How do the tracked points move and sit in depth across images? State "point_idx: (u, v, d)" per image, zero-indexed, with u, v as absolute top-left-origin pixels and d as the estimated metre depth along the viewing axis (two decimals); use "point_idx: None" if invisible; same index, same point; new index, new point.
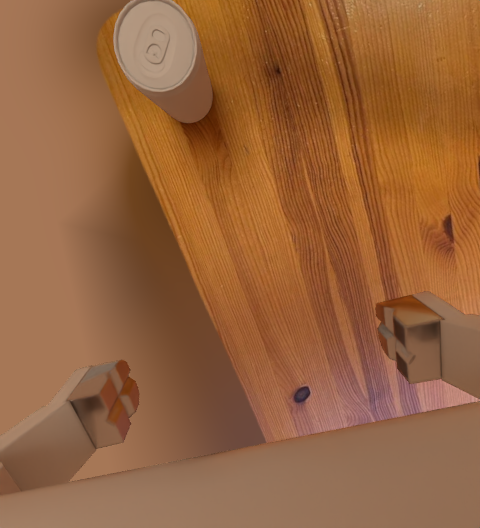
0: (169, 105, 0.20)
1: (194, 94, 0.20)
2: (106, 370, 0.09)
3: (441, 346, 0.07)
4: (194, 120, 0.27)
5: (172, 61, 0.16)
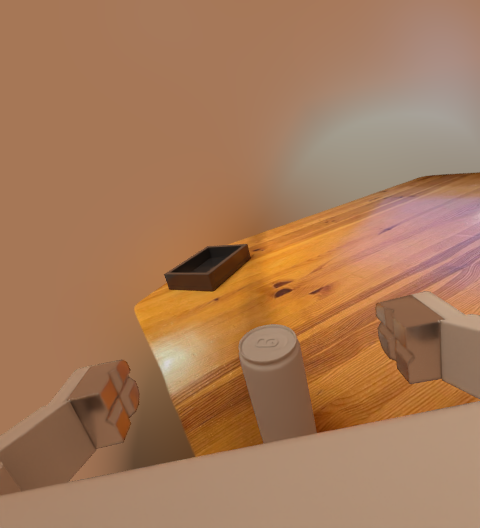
0: None
1: None
2: (106, 370, 0.09)
3: (441, 346, 0.07)
4: None
5: (273, 333, 0.24)
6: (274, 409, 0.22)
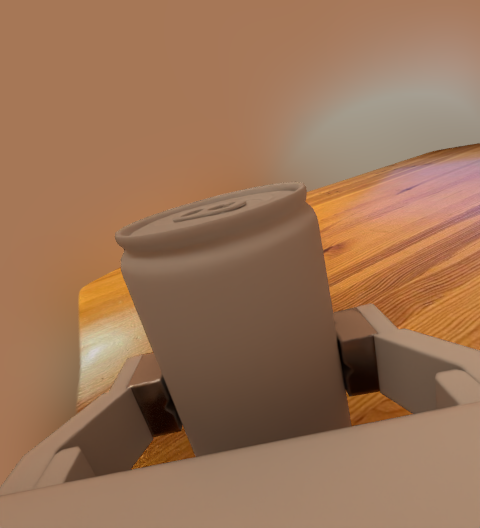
0: None
1: None
2: None
3: (376, 360, 0.07)
4: None
5: (236, 198, 0.08)
6: (234, 427, 0.06)
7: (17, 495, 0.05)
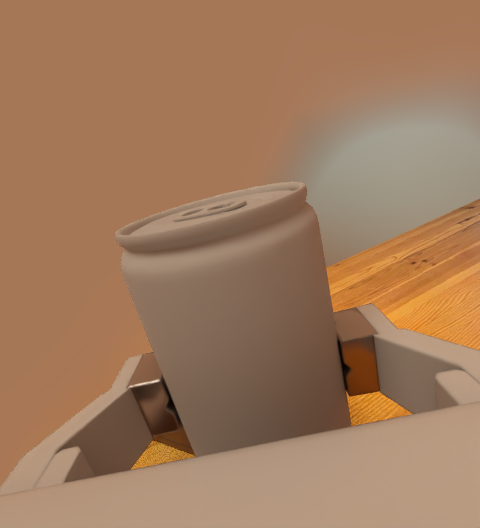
0: None
1: None
2: None
3: (376, 360, 0.07)
4: None
5: (236, 198, 0.08)
6: (234, 427, 0.06)
7: (17, 495, 0.05)
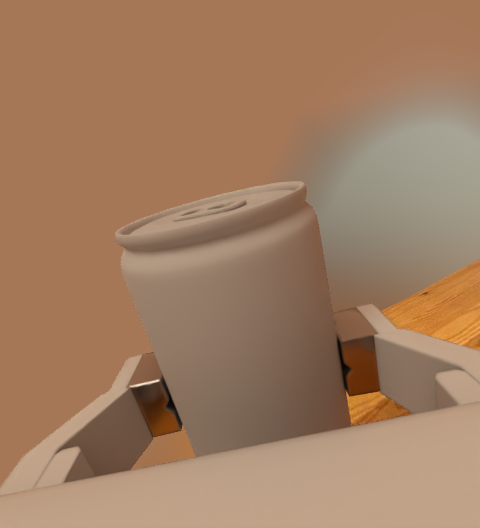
0: None
1: None
2: None
3: (376, 359, 0.07)
4: None
5: (235, 198, 0.08)
6: (234, 426, 0.06)
7: (17, 495, 0.05)
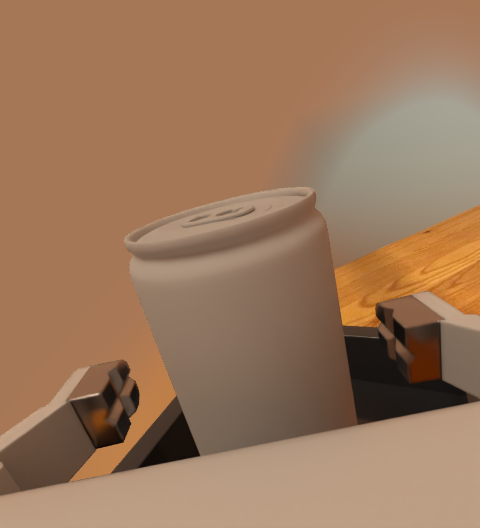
0: None
1: None
2: (106, 370, 0.09)
3: (441, 346, 0.07)
4: None
5: (243, 203, 0.08)
6: (244, 433, 0.06)
7: (17, 495, 0.05)
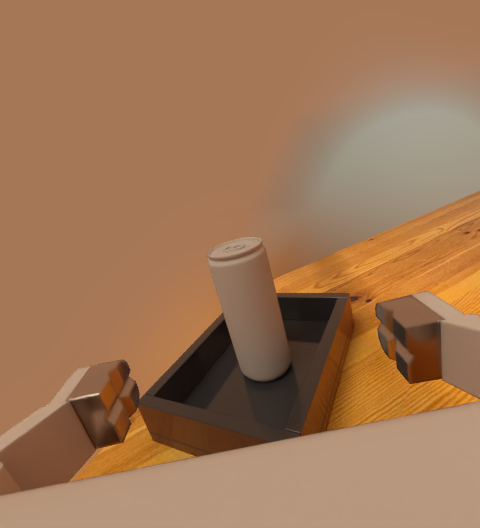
0: (270, 273, 0.25)
1: None
2: (106, 370, 0.09)
3: (441, 346, 0.07)
4: None
5: (241, 242, 0.25)
6: (242, 308, 0.23)
7: (17, 495, 0.05)
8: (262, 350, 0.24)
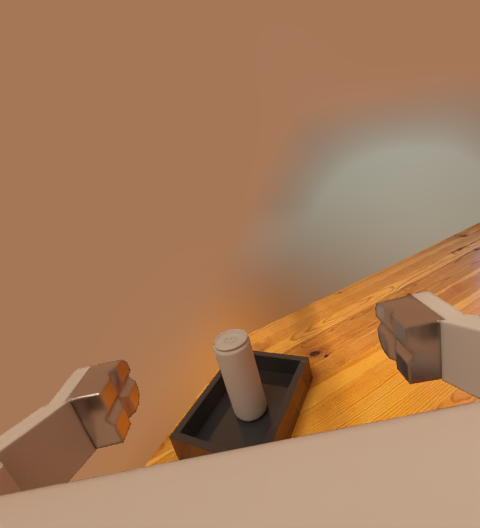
0: None
1: None
2: (106, 370, 0.09)
3: (441, 346, 0.07)
4: None
5: (235, 334, 0.39)
6: (234, 379, 0.37)
7: (17, 495, 0.05)
8: (247, 403, 0.39)
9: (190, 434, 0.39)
